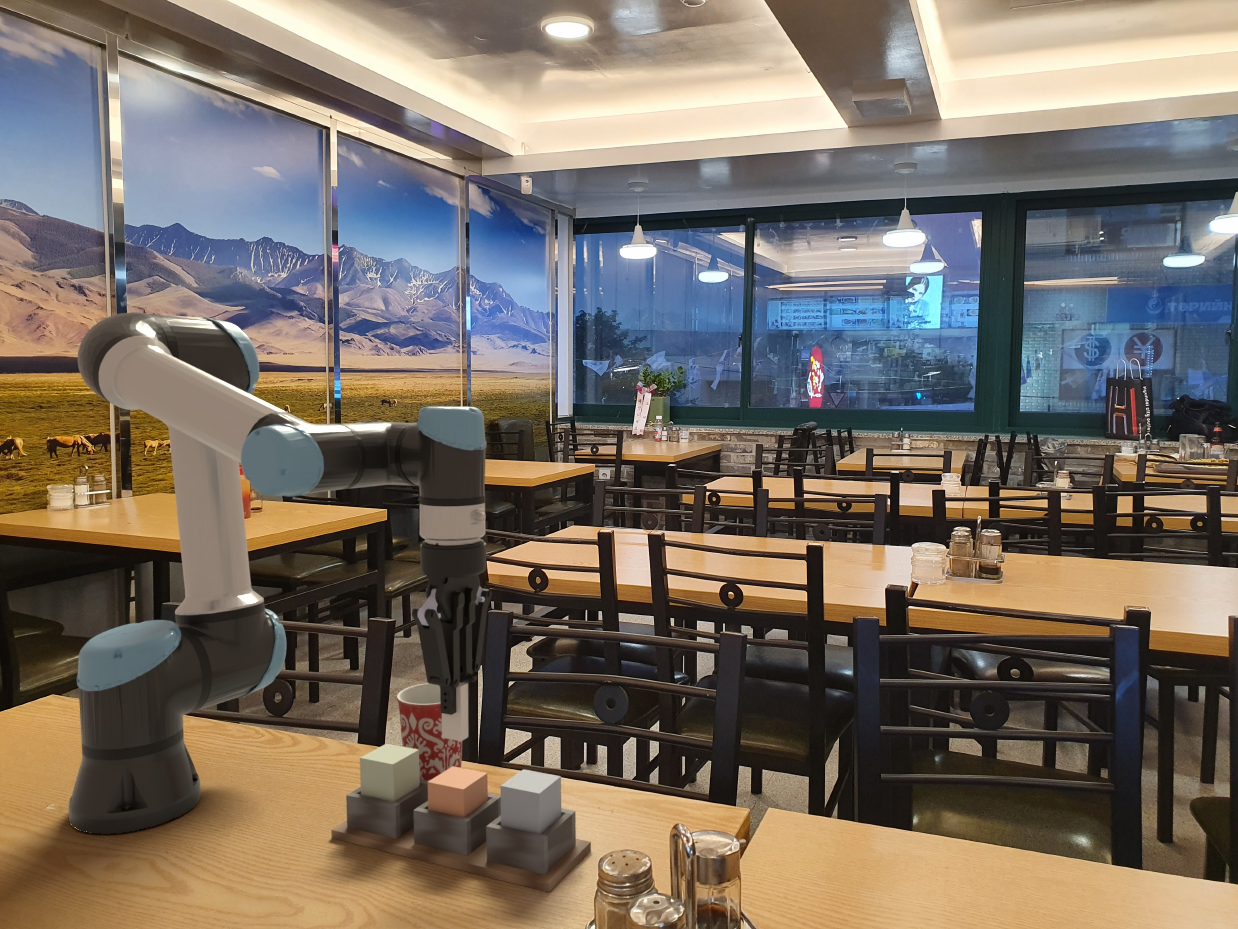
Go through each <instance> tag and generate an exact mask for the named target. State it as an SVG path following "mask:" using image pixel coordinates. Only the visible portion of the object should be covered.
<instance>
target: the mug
mask: <svg viewBox="0 0 1238 929" xmlns="http://www.w3.org/2000/svg"><path fill="white" fill-rule="evenodd" d="M396 700H397V702H398V711H399V722H400V732H401V746H402V747H407V748H413V749H418V750H419V776H420V779H421V780H426V781H430V780H432V779H433V778H435V777H436V776H438V775H440V774H441V773H443V772H444V771H446V770H448V769H449V768H451V767H452V766H454V767H459V768H462V761H463V760H462V759H463V757H462V756H463V741H457V740H452V739H446V738H442V713H441V709H440V705H441V704H440V702H441V701H440V686H439V685H434V684H429V683H428V682H426V683H419V684H415V685H412V686H408V687H406V688H404V689H402V690H400V691H399V692H398V693H397V695H396Z"/></svg>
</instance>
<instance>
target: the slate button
mask: <svg viewBox="0 0 1238 929" xmlns="http://www.w3.org/2000/svg"><path fill="white" fill-rule="evenodd" d="M499 788H500V796H501V826H504V827H509V828H513V829H518V830H523V831H527V832H532V833H536V834H542V833H544V832H545V831H546V830H547V829H548V828H549V827H550V826H552V825H553V824H554V823H555V822H556V821H557V820H558V819H560V818H561V808H562V776H561V775H555V774H549V773H545V772H544V773H543V772H539V771H533V770H530V769H522V770H521V771H519V772H518V773H516V774H514V775H513V776H512V777H511V778H509V779H508V780H506V781H505V782H503V783H502V784H500V787H499Z"/></svg>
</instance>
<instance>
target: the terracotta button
mask: <svg viewBox="0 0 1238 929" xmlns="http://www.w3.org/2000/svg"><path fill="white" fill-rule="evenodd" d="M488 781H489V780H488V772H484V771H478V770H474V769H467V768H463V767H461V768H459V767H454V766H452V767H451V768H449V769H448V770H446V771H444V772H443V773H441V774H440V775H438V776H436V777H435V778H433V779H432V780H430V781H428V810H432V811H437V812H441V813H446V814H450V815H455V816H459V817H464V818H465V817H467V816H468V815H469V814H471V813H472V812H473V811H475V810H476V809H477V808H479V807H480V806H482V805H483V804H484V803H486V802H487V801H488V793H489V792H488V788H489V787H488V784H489V783H488Z"/></svg>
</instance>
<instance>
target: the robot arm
mask: <svg viewBox="0 0 1238 929" xmlns="http://www.w3.org/2000/svg"><path fill="white" fill-rule="evenodd" d="M77 366H78V370H79V373H80V375H81V378H82V380H83V381H84V383H85V384H86V386H87V387H88V388H89V389H90V390H91V391H92V392H93V393H94V394H96V396H98V397H100V398H101V399H103V401H105V402H108V403H110V404H112V405H114V406H116V407H117V408H120V409H123V410H128V411H129V410H130V411H136V410H137V411H138V410H141V411H142V412H145V413H146V414H148V415H150V416H151V417H153V418H155V419H158V420H159V421H160V422H162V423H163V424H165V425H166V426H167V428H168V435H169V436H168V437H169V444H170V446H169V447H170V456H171V465H172V476H173V482H174V483H173V484H174V485H173V486H174V493H175V494H174V495H175V504H176V506H175V507H176V515H177V524H178V534H179V544H180V545H179V546H180V554H181V563H182V574H183V583H184V585H183V586H184V595H185V598H184V599H183V601H182V602H181V603H180V604H179V605H178V606H177V608H175V611H174V614H175V622H174V621H172V620H166V619H150V620H144V621H142V622H138V623H137V622H132V623H127V624H123V625H120V626H117V627H116V626H115V627H114V628H111V629H108V630H106V631H103V632H101V633H99V634H96V635H95V636H93V637H92V638H90V639H89V640H88V641H87V642H85V644H84V645H83V646H82V647H81V649H80V651H79V653H78V662H77V664H78V665H77V676H76V685H77V687H78V700H79V702H78V703H79V718H80V719H79V721H80V739H81V740H80V741H81V756H82V758H81V763H80V767H79V769H78V772H77V776H76V779H75V782H74V787H73V790H72V795H71V796H70V798H69V800H68V822H70V823H71V824H72V826H73V827H76V828H77V829H79V830H81V831H85V832H86V831H87V832H91V833H90V834H92V833H101V834H100V835H111V833H112V834H113V833H116V834H123V832H125V833H131V832H135V830H137V831H140V830H139V829H142V830H144V829H143V828H146V827H150V828H152V827H151V826H153V827H156V826H155V825H157V826H159V825H158V824H160V825H162V824H161V823H163V824H165V823H168V822H170V821H169V820H171V819H173V818H175V819H177V818H179V817H181V816H183V815H184V814H186V813H188V812H189V811H191V810H192V809H193V808H195V807H196V806H197V805H198V803H199V802H200V800H201V798H202V795H201V794H202V792H201V791H202V790H201V779H200V776H199V774H198V772H197V769H196V766H195V765H194V762H193V760H192V757H191V755H190V753H189V751H188V748H187V745H186V743H185V738H184V716H185V715H189V714H190V713H193V712H196V711H200V710H203V709H206V708H209V707H212V706H215V705H218V704H221V703H224V702H227V701H230V700H235V699H241V698H245V697H247V696H250V695H251V694H252V693H254V692H256V691H259V690H261V689H264V688H266V687H268V686H269V685H270V684H272V683H273V682H275V679H276V677H277V676H278V675H279V674H281V673H280V672H281V671H282V669H283V666H284V664H285V661H286V660H285V659H286V655H287V637H286V630H285V628H284V625H283V624H282V623H280V622H279V620H280V619H279V617H278V615H277V614H276V613H275V612H274V611H272V610H270V609H267V608H265V599H264V597H263V596H261V595H260V594H259V593H257V592H256V591H254V589H253V588H252V582H251V581H252V580H251V572H250V562H249V552H248V541H247V532H246V522H245V512H244V502H243V500H244V499H243V491H242V481H241V470H240V465H241V469H242V473H243V476H244V478H245V479H246V480H248V481H249V483H250V484H249V485H250V487H251V489H252V490H254V491H255V492H256V493H259V494H260V495H263V496H265V497H266V496H267V497H278V496H279V497H281V496H282V497H289V498H290V497H291V498H292V497H298V496H302V495H306V494H314V493H315V494H316V493H321V492H323V493H324V492H331V491H338V490H347V489H359V488H369V487H379V486H385V485H386V486H387V485H389V486H390V485H392V486H394V485H395V486H413V487H418V488H419V489H418V490H419V536H420V537H421V538H422V539H424V540H423V541H422V543H421V544H420V545H419V547H420V551H419V552H420V557H419V559H420V572H421V573H422V575H424V576H426V577H427V579H428V583H427V588H426V592H425V598H426V600H425V602H424V603H423V605H422V606H421V607H416V606H415V607H413V609H412V610H411V616H412V618H413V620H414V623H415V625H416V626H417V631H418V635H419V636H418V637H419V641H420V642H419V643H420V647H421V654H422V659H423V664H424V670H425V675H426V676H425V677H426V681H427V682H426V683H429V684H434V685H439V686H440V701H441V702H440V704H441V705H440V709H441V713H442V738H446V739H452V740H457V741H462V742H463V741H465V740H466V739H467V738H469V703H470V691H469V690H470V682H472V683H475V682H476V681H477V680H478V675H477V674H474V672H479V671H480V669H481V664H482V659H483V658H482V656H483V648H484V641H485V632H486V624H487V616H488V608H489V606H490V602H491V599H492V594H493V593H492V590H491V589H488V588H482V587H481V581H480V578H479V575H480V574H482V573H484V572H485V571H486V569H487V542H485V541H484V539H481V538H483V537H484V536H485V535H486V516H487V515H486V493H485V485H486V484H485V480H486V450H487V441H486V431H485V418H484V413H483V412H482V410H481V409H479V408H478V407H475V406H424V407H422V408H420V410H419V412H418V421H417V422H414V423H413V422H412V423H411V422H398V421H397V422H394V421H393V422H392V421H383V420H365V421H364V420H363V421H358V422H350V423H312V422H308V421H306V420H304V419H302V418H299V417H298V416H295V415H293V414H291V413H290V412H288V411H286V410H283V409H281V408H279V407H278V406H275V405H273V404H271V403H269V402H267V401H265V400H264V399H261V398H259V397H256V396H255V395H253V393H254V392H255V390H256V388H257V385H256V383H258V382H259V379H260V362H259V357H258V354H257V350H256V348H255V346H254V344H253V342H252V340H251V339H250V337H249V336H248V335H247V334H246V333H245V332H244V331H242V329H241V328H240V327H239V326H237V324H234V323H232V322H229V321H224V320H218V319H213V318H209V317H207V316H204V317H199V316H198V317H197V316H184V315H182V316H181V315H169V314H166V315H165V314H154V313H145V312H133V311H132V312H123V313H121V312H120V313H116V314H114V315H110V316H108V317H105V318H103V319H102V320H99V321H98V322H97V323H96V324H94V325H93V326H92V327H91V328H89V330H88V331H86V333H85V334H84V336H83V337H82V340H81V341H80V344H79V347H78V352H77ZM200 797H201V798H200ZM198 801H199V802H198ZM195 805H196V806H195ZM182 814H183V815H182ZM176 817H177V818H176ZM173 820H174V819H173ZM167 821H168V822H167ZM171 821H172V820H171ZM164 822H165V823H164ZM70 823H69V824H70ZM72 826H71V827H72ZM73 827H72V828H73ZM146 829H147V828H146ZM81 831H80V832H81ZM130 831H131V832H130ZM85 832H84V833H85ZM120 832H121V833H120Z"/></svg>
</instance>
